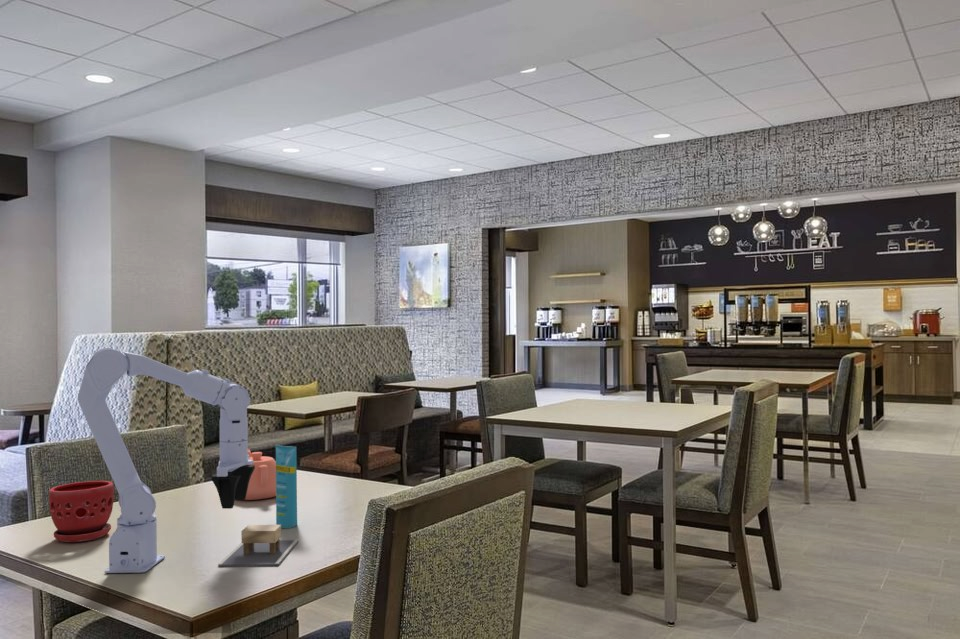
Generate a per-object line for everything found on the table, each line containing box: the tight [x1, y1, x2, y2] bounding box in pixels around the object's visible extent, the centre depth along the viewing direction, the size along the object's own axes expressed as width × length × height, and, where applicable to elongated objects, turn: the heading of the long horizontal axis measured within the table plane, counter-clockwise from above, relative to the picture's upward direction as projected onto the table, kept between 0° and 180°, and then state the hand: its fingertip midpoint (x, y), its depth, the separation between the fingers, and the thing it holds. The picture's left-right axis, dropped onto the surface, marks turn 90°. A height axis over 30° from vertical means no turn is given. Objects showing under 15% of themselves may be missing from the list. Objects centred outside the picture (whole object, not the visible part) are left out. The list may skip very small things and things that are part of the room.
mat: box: [217, 539, 299, 568], centre depth 154 cm, size 16×12×1 cm
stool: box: [240, 524, 282, 555], centre depth 154 cm, size 7×4×5 cm, turn 90°
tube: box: [275, 444, 298, 529], centre depth 175 cm, size 7×5×19 cm, turn 60°
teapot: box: [243, 448, 276, 501], centre depth 207 cm, size 22×15×12 cm
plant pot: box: [48, 480, 115, 543], centre depth 168 cm, size 13×13×12 cm
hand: (234, 503), depth 157 cm, fingers open, 7 cm apart
